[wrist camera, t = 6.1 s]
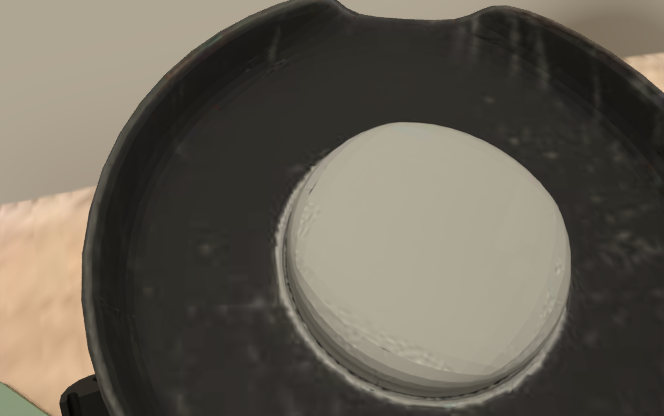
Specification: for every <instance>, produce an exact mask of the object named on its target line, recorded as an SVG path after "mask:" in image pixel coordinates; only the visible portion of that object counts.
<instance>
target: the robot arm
mask: <svg viewBox="0 0 664 416" xmlns="http://www.w3.org/2000/svg"><path fill="white" fill-rule="evenodd" d="M59 404H60V409H61V413H62V416H110V414H109V412H108V409H107V407H106V405H105V403H104V401H103V399H102V395H101V392H100V388H99V385H98V381H97V378H96V375H95V374H93V375H90V376H88V377H85V378H83V379H81V380H78V381H77V382H75V383H74V384H72V385H71V386H69V387H68V388H67V389H66V390H65V392H64V393H63V394H62V395H61V398H60V403H59Z"/></svg>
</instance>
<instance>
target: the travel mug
mask: <svg viewBox="0 0 664 416" xmlns="http://www.w3.org/2000/svg"><path fill="white" fill-rule="evenodd" d="M81 301H82V308H83V315H84V323H85V330H86V338H87V345H88V350H89V354H90V357H91V361H92V364H93V368H94V371H95V375H96V378H97V381H98V385H99V388H100V392H101V395H102V399H103V401H104V403H105V405H106V407H107V409H108V412H109V414H110V416H664V93H663V92H662V91H661V90H660V89H659V88H657V87H656V86H655V85H654V84H653V83H652V82H650V81H649V80H648V79H647V78H646V77H645V76H643V75H642V74H641V73H640V72H638V71H637V70H635V69H634V68H633V67H631V66H630V65H628V64H627V63H626V62H624V61H623V60H621V59H620V58H618V57H617V56H616V55H614V54H613V53H612V52H610V51H608V50H606V49H605V48H603V47H601V46H600V45H598V44H596V43H595V42H593V41H591V40H589V39H588V38H586V37H585V36H583V35H581V34H579V33H577V32H575V31H573V30H571V29H569V28H567V27H565V26H563V25H561V24H559V23H557V22H555V21H553V20H551V19H548V18H546V17H543V16H541V15H538V14H535V13H532V12H530V11H527V10H524V9H519V8H515V7H511V6H490V7H487V8H484V9H482V10H479V11H477V12H475V13H473V14H471V15H468V16H464V17H461V18H457V19H448V20H414V19H397V18H384V17H374V16H368V15H363V14H358V13H356V12H354V11H352V10H350V9H348V8H346V7H345V6H343V5H342V4H341V3H340V2H339V1H337V0H289V1H286V2H283V3H279V4H277V5H275V6H272V7H270V8H267V9H265V10H262V11H260V12H257V13H255V14H253V15H250V16H248V17H246V18H245V19H243V20H241V21H239V22H237V23H235V24H233V25H232V26H230V27H228V28H226V29H224V30H222V31H220V32H219V33H217V34H216V35H214V36H213V37H211V38H210V39H209V40H207V41H206V42H204V43H203V44H201V45H200V46H198V47H197V48H196V49H194V50H193V51H191V52H190V53H189V54H188V55H187V56H186V57H184V58H183V59H182V60H181V61H180V62H179V63H178V64H176V65H175V66H174V67H173V68H172V69H171V70H170V71H168V72H167V73H166V74H165V75H164V76H163V78H162V79H161V80H160V81H159V82H158V83H157V84H156V85H155V87H154V88H153V89H152V90H151V91H150V92H149V93H148V94H147V95H146V97H145V98H144V99H143V100H142V101H141V103H140V104H139V105H138V107H137V108H136V110H135V111H134V113H133V114H132V116H131V117H130V119H129V120H128V122H127V123H126V125H125V126H124V128H123V129H122V131H121V132H120V134H119V136H118V138H117V140H116V142H115V144H114V146H113V148H112V150H111V153H110V155H109V157H108V159H107V161H106V163H105V165H104V167H103V170H102V172H101V176H100V179H99V182H98V185H97V188H96V191H95V194H94V198H93V201H92V204H91V207H90V211H89V216H88V222H87V228H86V234H85V240H84V246H83V252H82V297H81Z"/></svg>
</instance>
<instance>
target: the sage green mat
mask: <svg viewBox="0 0 664 416" xmlns="http://www.w3.org/2000/svg"><path fill="white" fill-rule="evenodd" d="M0 416H50V415H49V414H47V413H46V412H44V411H43V410H41V409H40V408H39V407H37V406H36V405H34V404H33V403H32V402H30V401H29V400H27V399H26V398H25V397H23V396H22V395H20V394H19V393H18V392H16V391H15V390H13V389H12V388H11V387H9V386H8V385H6V384H4V383H2V382H0Z"/></svg>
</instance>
